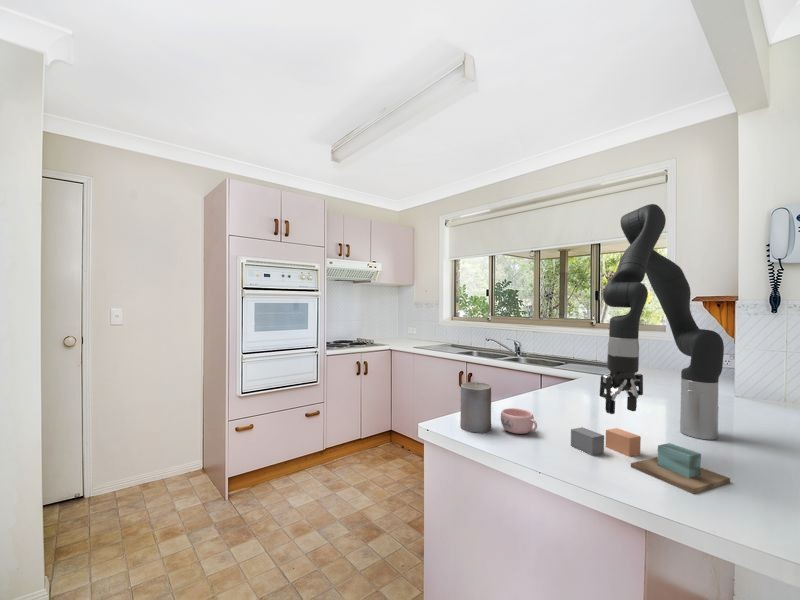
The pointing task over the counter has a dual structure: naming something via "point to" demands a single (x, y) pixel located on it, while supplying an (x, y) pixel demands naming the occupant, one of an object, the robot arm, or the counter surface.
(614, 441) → the terracotta brick
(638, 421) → the counter surface
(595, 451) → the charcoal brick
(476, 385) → the pillar candle
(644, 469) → the plate
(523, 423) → the mug
